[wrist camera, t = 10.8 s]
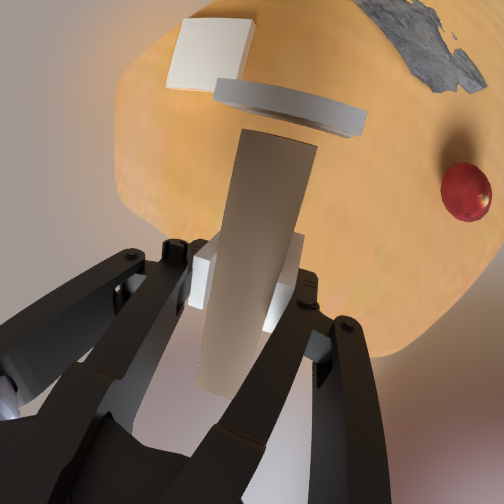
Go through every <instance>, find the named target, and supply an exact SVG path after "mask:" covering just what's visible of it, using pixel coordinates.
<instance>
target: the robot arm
mask: <svg viewBox="0 0 504 504" xmlns="http://www.w3.org/2000/svg"><path fill="white" fill-rule="evenodd" d="M220 232H221V230H220V231H219V232H218V233H217V234H216V235H215V236H214V237H213V238H212V239H211V240H210V241H207V240H204V239H201V238H200V239H197V240H194V241H192V242H191V243H190V244H189V243H188V242H186V241H184V240H180V239H168V240H165V241H164V242H163V247H162V258H161V260H160V261H159V262H154V261H147V260H145V253H144V252H143V251H141V250H138V249H133V248H130V249H125V250H122V251H120V252H119V253H117V254H115V255H113V256H111V257H110V258H108V259H106V260H104V261H102V262H100V263H99V264H97V265H95V266H93V267H92V268H90V269H88V270H86V271H85V272H83V273H81V274H80V275H78V276H76V277H75V278H73V279H71V280H70V281H68V282H66V283H65V284H63V285H62V286H60V287H58V288H56V289H55V290H53V291H52V292H50V293H48V294H47V295H45V296H44V297H42V298H41V299H39V300H37V301H36V302H34V303H33V304H31V305H30V306H28V307H27V308H25V309H24V310H22V311H21V312H19V313H18V314H16V315H15V316H13V317H12V318H10V319H9V320H7V321H6V322H5V323H3V324H2V325H0V504H244V503H243V502H242V500H241V497H242V495H243V493H244V492H245V490H246V488H247V486H248V484H249V482H250V480H251V478H252V476H253V474H254V473H255V471H256V469H257V467H258V465H259V463H260V461H261V459H262V456H263V454H264V452H265V449H266V444H267V441H268V439H269V437H270V435H271V433H272V431H273V428H274V426H275V424H276V422H277V419H278V417H279V414H280V412H281V410H282V408H283V405H284V403H285V401H286V398H287V396H288V393H289V391H290V389H291V386H292V384H293V381H294V379H295V376H296V374H297V371H298V368H299V366H300V363H301V361H302V358H303V355H304V356H306V357H307V358H309V359H311V360H313V363H312V372H313V373H312V376H313V377H312V381H313V382H312V390H313V391H312V392H313V393H312V442H311V464H310V480H309V494H308V504H392V503H391V492H390V478H389V469H388V459H387V451H386V443H385V437H384V430H383V423H382V418H381V411H380V406H379V401H378V395H377V390H376V385H375V380H374V376H373V371H372V367H371V362H370V358H369V353H368V349H367V345H366V341H365V337H364V333H363V329H362V327H361V325H360V324H359V323H358V322H357V321H356V320H355V319H353V318H351V317H348V316H343V315H341V316H337V317H336V318H335V319H334V320H332V319H330V318H328V317H327V316H325V315H324V314H322V313H321V312H320V311H319V309H320V306H319V304H318V302H317V291H318V289H317V288H318V277H317V276H316V274H315V273H314V272H310V271H307V270H304V269H301V268H299V264H300V259H301V253H302V248H303V242H304V236H305V235H303V234H299V233H296V232H293V235H292V238H291V242H290V245H289V248H288V252H287V255H286V258H285V261H284V265H283V268H282V271H281V272H280V276H279V279H278V282H277V285H276V288H275V291H274V294H273V298H272V301H271V304H270V307H269V310H268V313H267V316H266V319H265V322H264V325H263V328H262V330H263V331H266V332H269V333H272V334H271V336H270V338H269V340H268V341H267V343H266V345H265V346H264V348H263V350H262V352H261V354H260V355H259V357H258V359H257V360H256V362H255V364H254V365H253V367H252V369H251V370H250V372H249V374H248V375H247V377H246V379H245V380H244V382H243V384H242V385H241V387H240V388H239V390H238V392H237V393H236V395H235V397H234V398H233V400H232V402H231V403H230V405H229V406H228V408H227V409H226V411H225V413H224V414H223V416H222V417H221V419H220V420H219V422H218V423H217V424H214V426H212V428H211V429H210V430H209V432H208V433H207V435H206V436H205V437H204V439H203V441H202V442H201V443H200V445H199V446H198V448H197V449H196V451H195V452H194V453H193V455H192V456H191V458H190V457H187V456H184V455H182V454H177V453H173V452H167V451H163V450H158V449H154V448H150V447H146V446H144V445H142V444H141V443H140V442H139V441H137V440H136V439H135V438H134V437H133V436H132V428H133V421H134V418H135V416H136V413H137V411H138V408H139V406H140V404H141V401H142V399H143V397H144V395H145V392H146V390H147V388H148V386H149V383H150V381H151V379H152V377H153V374H154V372H155V370H156V368H157V365H158V363H159V361H160V359H161V357H162V354H163V352H164V350H165V348H166V346H167V344H168V342H169V340H170V337H171V335H172V333H173V331H174V329H175V327H176V325H177V323H178V320H179V318H180V316H181V314H182V312H183V310H184V304H185V300H186V299H187V298H188V297H189V301H188V305H190V306H193V307H196V308H198V309H201V310H203V308H204V307H205V305H206V304H207V303H208V301H209V298H210V292H211V286H212V280H213V274H214V268H215V263H216V257H217V248H218V243H219V237H220ZM118 285H120V290H119V291H117V292H116V291H115V288H116V287H117V286H118ZM93 347H94V348H93ZM91 348H93V349H92V351H91V352H90V354H89V355H88V356H87V358H86V359H85V361H84V362H82V363H80V362H77V361H78V360H79V359H80V358H81V357H82V356H83V355H84V354H86V353H87V352H88V351H89V350H90V349H91ZM59 376H61V377H60V379H59V380H58V381H57V383H56V384H55V386H54V387H53V389H52V390H51V392H50V394H49V395H48V397H47V398H46V400H45V402H44V403H43V405H42V406H41V408H40V409H39V411H38V413H37V414H36V415H33V416H28V417H22V418H20V411H19V410H18V408H19V407H21V406H23V405H25V404H27V403H28V402H30V401H32V400H33V399H35V398H36V397H37V396H38V395H39V394H41V393H42V392H43V391H44V390H45V389H46V388H47V387H49V386H50V385H51V384H52V383H53V382H54V381H55V380H56V379H57V378H59Z"/></svg>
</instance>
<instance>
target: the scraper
mask: <svg viewBox="0 0 504 504" xmlns="http://www.w3.org/2000/svg"><path fill="white" fill-rule="evenodd" d="M212 100H215V101H218V102H221V103H223V104H226V105H229V106H232V107H234V108H237V109H239V110H242V111H244V112H247V113H250V114H255V115H260V116H265V117H270V118H274V119H279V120H283V121H287V122H291V123H295V124H299V125H303V126H306V127H310V128H314V129H317V130H321V131H324V132H327V133H331V134H334V135H337V136H340V137H343V138H350V137H355V136H360V135H362V132H363V128H364V124H365V120H366V116H367V112H368V111H365V110H362V109H359V108H356V107H353V106H350V105H347V104H344V103H341V102H338V101H334V100H331V99H327V98H324V97H320V96H317V95H313V94H309V93H305V92H301V91H296V90H292V89H288V88H283V87H278V86H273V85H268V84H262V83H256V82H250V81H243V80H236V79H228V78H219V77H218V78H217V82H216V86H215V90H214V95H213V99H212ZM317 147H318V146H314V145H311V144H308V143H304V142H300V141H297V140H293V139H289V138H285V137H281V136H277V135H273V134H269V133H264V132H258V131H253V130H247V129H242V131H241V135H240V140H239V144H238V149H237V153H236V158H235V162H234V167H233V172H232V177H231V181H230V186H229V191H228V196H227V201H226V206H225V211H224V216H223V221H222V227H221V232H220V237H219V243H218V248H217V257H216V263H215V268H214V274H213V280H212V286H211V292H210V298H209V301H208V306H207V313H206V318H205V325H204V332H203V338H202V345H201V352H200V359H199V366H198V374H197V380H196V387H198V388H201V389H203V390H206V391H208V392H211V393H214V394H217V395H219V396H222V397H225V398H228V399H231V400H233V398H234V397H235V395H236V393H237V392H238V390H239V388H240V387H241V385H242V384H243V382H244V380H245V378H246V375H247V373H248V370H249V367H250V364H251V361H252V358H253V356H254V353H255V350H256V347H257V344H258V341H259V338H260V335H261V332H262V328H263V325H264V322H265V319H266V316H267V313H268V310H269V307H270V304H271V301H272V298H273V294H274V291H275V288H276V285H277V282H278V279H279V276H280V272H281V271H282V268H283V265H284V261H285V258H286V255H287V252H288V248H289V245H290V242H291V238H292V235H293V232H294V228H295V225H296V222H297V218H298V215H299V211H300V208H301V205H302V201H303V198H304V194H305V191H306V187H307V183H308V180H309V176H310V173H311V169H312V165H313V162H314V158H315V154H316V151H317Z"/></svg>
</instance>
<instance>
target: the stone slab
mask: <svg viewBox="0 0 504 504" xmlns="http://www.w3.org/2000/svg"><path fill="white" fill-rule="evenodd" d="M353 1H354V2H355V3H356V4H357V5H358V6H360V7H361V8H362V9H363V10H364V11H365V13H366V14H367V15H368V16H369V17H370V18H371V19H372V20H373V21H374V22H375V23H376V24H377V25H378V26H379V27H380V29H381V30H382V31H383V32H384V33H385V35H386V36H387V37H388V39H389V40H390V41H391V42H392V43H393V44H394V46H395V47H396V49H397V50H398V52H399V53H400V54H401V56H402V57H403V59H404V60H405V62H406V63H407V65H408V67H409V69H410V71H411V73H412V74H413V75H414V76H416V77H417V78H418V79H420V80H421V81H422V82H423V83H425V84H426V85H428V86H429V87H430V88H431V90H432V91H433V93H434V92H436V93H442V92H444V91H447V90H449V91H453V92H457V90H458V89H457V85H458V84H459V85H460V86H461V87H462V88H463V89H464V90H465V91H467V92H468V93H469V94H471V93H473V92H476V91H479V90H481V89H484V88H486V87H488V86H487V84H486V82H485V81H484V79H483V77H482V76H481V74H480V72H479V71H478V69H477V68H476V66H475V65H474V64H473V62H472V61H471V60H470V58H469V57H468V56H467V54H466V53H465V52H464V51H463V50H461V49H460V48H459V50H458V49H455V51H454V54H453V57H452V54H451V53H450V52H449V50H448V48H447V45H446V44H445V42H444V41H443V40H442V37H441V35H440V33H439V30H438V26H439V27H440V28H441V29H442V27H441V26H442V25H441V23H440V19H439V18H438V16H437V14H436V12H435V10H434V9H433V8H430V7H426V6H425V5H423V3H421V2H420V1H418V0H411V1H412V2H414V3H413V4H412V3H409V2H408V1H406V0H353ZM437 25H438V26H437ZM442 31H443V29H442ZM443 32H444V31H443ZM444 33H445V32H444ZM452 35H453V37H454V39H455V40H457V38H456V37H455V35H454V34H453V33H452Z"/></svg>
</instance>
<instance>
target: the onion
mask: <svg viewBox="0 0 504 504" xmlns="http://www.w3.org/2000/svg"><path fill="white" fill-rule="evenodd" d="M441 196H442V201H443V203H444V205H445V207H446V209H447V210H448V211H449V212H450V213H451V214H452V215H453V216H454V217H455V218H456V219H458V220H461V221H465V222H473V221H477V220H480V219H481V218H482V217H483V216H484V215H485V214H486V213H487V212H488V210H489V207H490V204H491V200H492V191H491V185H490V183H489V181H488V179H487V177H486V175H485V174H484V173H483V172H482V171H481V170H480V169H479V168H478V167H477V166H475V165H472V164H468V163H459V164H455V165H453V166H452V167H451V168H450V169H449V170H448V171H447V172H446V174H445V176H444V178H443V180H442V185H441Z"/></svg>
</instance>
